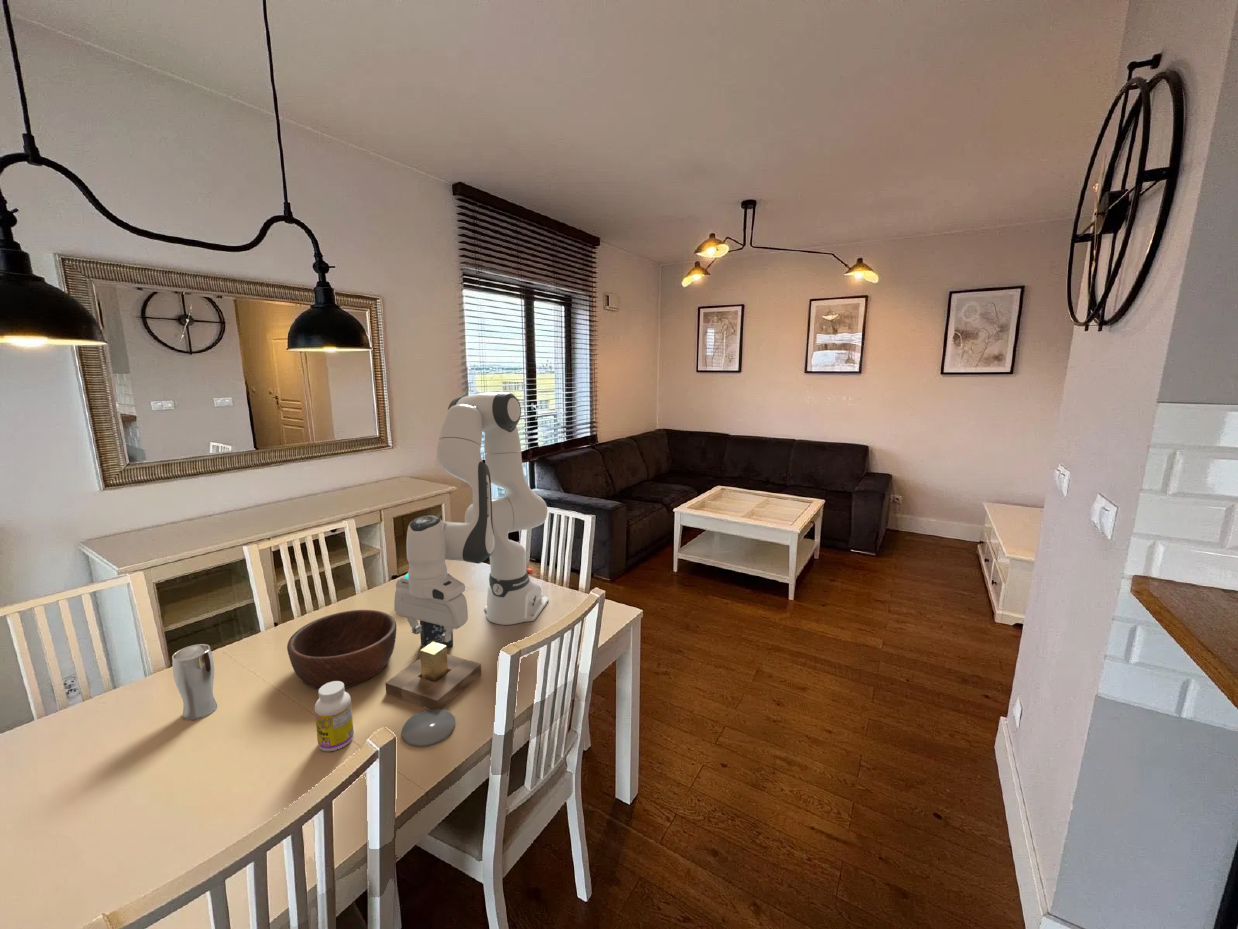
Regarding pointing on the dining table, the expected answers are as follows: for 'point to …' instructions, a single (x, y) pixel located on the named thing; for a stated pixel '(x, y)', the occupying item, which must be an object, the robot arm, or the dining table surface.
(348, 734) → the supplement bottle
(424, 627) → the box
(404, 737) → the coaster
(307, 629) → the wooden bowl
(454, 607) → the robot arm
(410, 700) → the pocket
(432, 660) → the part
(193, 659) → the beer glass
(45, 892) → the dining table surface
